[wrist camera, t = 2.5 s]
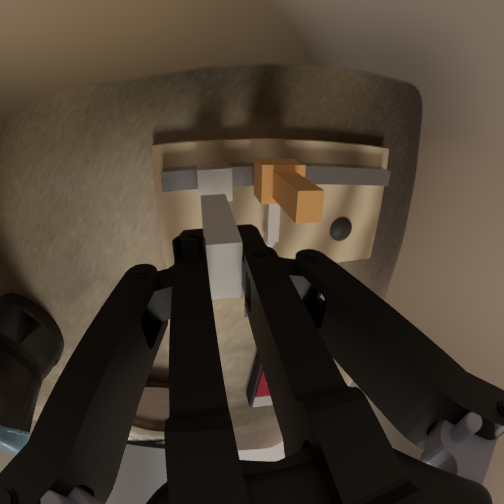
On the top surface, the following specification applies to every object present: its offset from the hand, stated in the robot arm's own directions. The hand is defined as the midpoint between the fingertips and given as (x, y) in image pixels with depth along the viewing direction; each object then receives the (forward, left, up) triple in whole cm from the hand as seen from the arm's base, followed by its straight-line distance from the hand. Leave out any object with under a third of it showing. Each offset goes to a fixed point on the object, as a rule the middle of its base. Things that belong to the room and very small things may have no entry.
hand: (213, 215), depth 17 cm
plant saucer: (-13, -44, -14) cm, 48 cm away
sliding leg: (+7, -3, -12) cm, 14 cm away
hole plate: (+9, -5, -14) cm, 17 cm away
